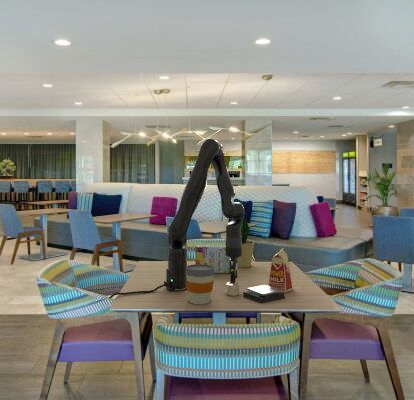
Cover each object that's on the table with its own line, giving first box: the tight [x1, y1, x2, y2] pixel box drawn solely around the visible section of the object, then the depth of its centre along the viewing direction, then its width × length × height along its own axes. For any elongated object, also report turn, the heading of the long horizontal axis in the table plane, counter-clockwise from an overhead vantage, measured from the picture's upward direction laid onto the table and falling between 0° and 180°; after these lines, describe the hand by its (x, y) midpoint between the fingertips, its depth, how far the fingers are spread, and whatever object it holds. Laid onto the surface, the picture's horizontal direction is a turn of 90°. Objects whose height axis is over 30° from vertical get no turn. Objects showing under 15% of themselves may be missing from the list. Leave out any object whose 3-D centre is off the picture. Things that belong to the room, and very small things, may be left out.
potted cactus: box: [238, 217, 255, 269], centre depth 250 cm, size 15×15×30 cm
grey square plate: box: [246, 284, 282, 296], centre depth 183 cm, size 11×11×1 cm
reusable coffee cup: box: [185, 263, 215, 305], centre depth 177 cm, size 13×13×15 cm
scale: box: [242, 290, 286, 304], centre depth 183 cm, size 14×12×3 cm
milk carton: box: [268, 247, 294, 293], centre depth 195 cm, size 9×9×20 cm
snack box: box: [194, 245, 233, 274], centre depth 232 cm, size 21×6×15 cm, turn 84°
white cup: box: [225, 281, 241, 297], centre depth 188 cm, size 6×6×5 cm
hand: (233, 280), depth 188 cm, fingers open, 8 cm apart
